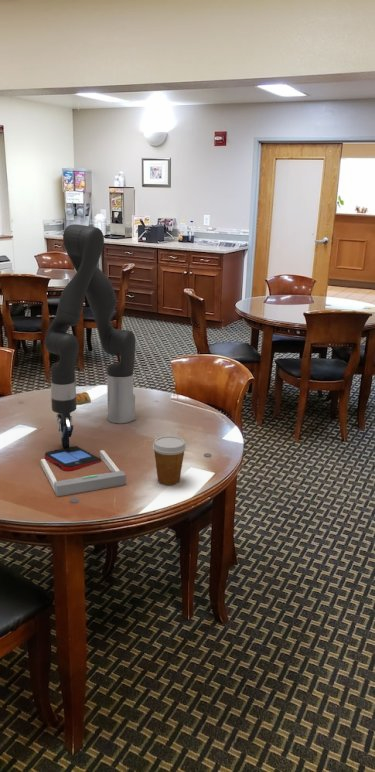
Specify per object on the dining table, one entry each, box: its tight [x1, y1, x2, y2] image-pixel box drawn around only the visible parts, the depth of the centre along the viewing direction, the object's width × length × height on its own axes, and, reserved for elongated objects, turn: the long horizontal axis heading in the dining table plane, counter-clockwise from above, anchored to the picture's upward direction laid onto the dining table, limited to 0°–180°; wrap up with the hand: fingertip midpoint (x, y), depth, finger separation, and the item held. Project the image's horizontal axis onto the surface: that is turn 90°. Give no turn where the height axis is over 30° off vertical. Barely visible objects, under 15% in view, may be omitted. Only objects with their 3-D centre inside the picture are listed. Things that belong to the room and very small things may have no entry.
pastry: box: [76, 391, 92, 406], centre depth 233 cm, size 9×7×4 cm
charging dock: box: [40, 449, 127, 498], centre depth 172 cm, size 19×21×3 cm
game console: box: [44, 445, 102, 472], centre depth 183 cm, size 14×13×2 cm
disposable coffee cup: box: [152, 435, 187, 486], centre depth 169 cm, size 10×10×12 cm
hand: (65, 447), depth 189 cm, fingers closed
